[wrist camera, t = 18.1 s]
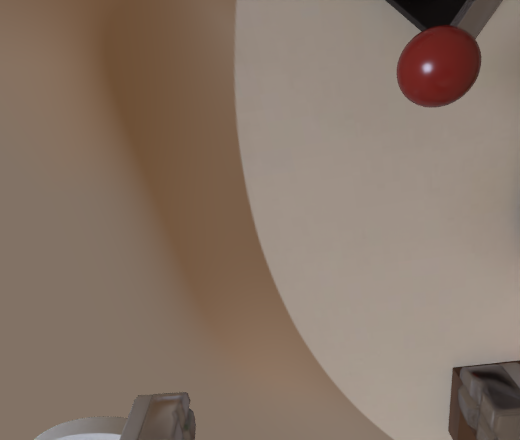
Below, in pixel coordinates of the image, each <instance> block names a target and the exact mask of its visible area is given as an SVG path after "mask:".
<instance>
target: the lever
mask: <svg viewBox="0 0 520 440" xmlns="http://www.w3.org/2000/svg"><path fill="white" fill-rule="evenodd" d="M502 1H503V0H466V2H465V3H464V5H463V6H462V8H461V9H460V11H459V12H458V13H457V15H456V16H455V18H454V19H453V21H452V22H451V24H450V25H439V26H434V27H431V28H428V29H426V30H424V31H422V32H421V33H419V34H417V35H416V36H415V37H414V38H413V39H412V40H411V41H410V42H409V43H408V44H407V45H406V46H405V48H404V50H403V51H402V53H401V55H400V58H399V61H398V65H397V81H398V84H399V87H400V89H401V91H402V93H403V94H404V95H405V97H407V98H408V99H409V100H410V101H412V102H413V103H415V104H417V105H420V106H423V107H441V106H445V105H448V104H450V103H453V102H455V101H456V100H458V99H460V98H461V97H462V96H463V95H465V94H466V93H467V92H468V91H469V89H470V88H471V87H472V86H473V84H474V83H475V81H476V79H477V77H478V74H479V71H480V67H481V52H480V48H479V46H478V44H477V42H476V40H475V39H476V37H477V36H478V35H479V33H480V32H481V30H482V29H483V27H484V26H485V25H486V23H487V22H488V20H489V19H490V18H491V16H492V15H493V13H494V12H495V10H496V9H497V8H498V6H499V5H500V3H501V2H502Z"/></svg>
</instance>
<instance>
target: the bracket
mask: <svg viewBox="0 0 520 440" xmlns="http://www.w3.org/2000/svg"><path fill="white" fill-rule="evenodd" d="M386 1H387V2H388V3H389V4H390V5H392V6H393V7H394V8H395V9H396V10H397V11H399V12H400V13H401V14H402V15H403V16H404V17H406V18H407V19H408V20H409V21H410V22H411V23H413V24H414V25H415V26H416V27H417V28H418V29H420V30H421V31H424V30H426V29H428V28H431V27H434V26H439V25H450V24H451V22H452V21H453V19H454V18H455V16H456V15H457V13H458V12H459V11H460V9H461V8H462V6H463V5H464V3H465V2H466V0H386Z"/></svg>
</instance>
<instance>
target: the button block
mask: <svg viewBox="0 0 520 440" xmlns="http://www.w3.org/2000/svg"><path fill="white" fill-rule="evenodd" d="M515 362H516V363H518V364H520V361H514V362H505V363H515ZM505 363H495V364H497V365H498V364H505ZM486 365H493V364H486ZM477 366H483V365H477ZM468 367H473V366H468ZM462 368H463V367H458V368H453V374H452V388H451V402H450V416H449V430H448V431H449V433H450V435H451V437H452V439H453V440H476V439H475V438H476V430H475V429H474V428H472V427H471V426H469V425H468V424H467V423H466V421H465V419H464V417H463V415H462V413H461V410H460V407H459V402H458V389H459V388H460V387H461V386H462V385H463V383H462V381H461V379H460V378H459V377H460V371H461V369H462Z"/></svg>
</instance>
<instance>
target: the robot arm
mask: <svg viewBox="0 0 520 440" xmlns="http://www.w3.org/2000/svg"><path fill="white" fill-rule="evenodd" d="M459 378H460V379H461V381H462V383H463V385H462V386H461V387H460V388H459V389H458V402H459V407H460V410H461V413H462V415H463V417H464V419H465V421H466V423H467V424H468V425H469V426H471V427H472V428H474V429H475V430H476V438H475V439H476V440H520V364H518V363H516V362H515V363H505V364H498V365H497V364H493V365H483V366H473V367H463V368H462V369H461V371H460V377H459ZM189 404H190V399H189V395H188V393H186V392H183V393H166V394H153V395H138V397H137V398H136V399H135V400H134V403H133V406H132V408H131V411H130V413H129V416H128V419H127V421H126V424H125V427H124V429H123V432H122V435H121V437H120V440H195V426H196V424H195V417H194V413H193V411H192V410H191V409H189Z"/></svg>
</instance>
